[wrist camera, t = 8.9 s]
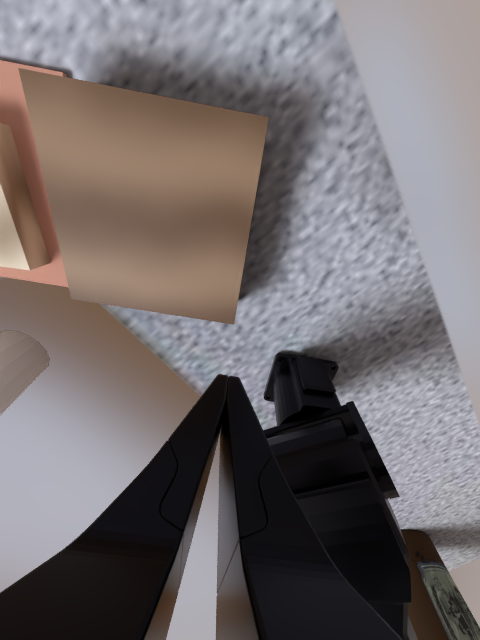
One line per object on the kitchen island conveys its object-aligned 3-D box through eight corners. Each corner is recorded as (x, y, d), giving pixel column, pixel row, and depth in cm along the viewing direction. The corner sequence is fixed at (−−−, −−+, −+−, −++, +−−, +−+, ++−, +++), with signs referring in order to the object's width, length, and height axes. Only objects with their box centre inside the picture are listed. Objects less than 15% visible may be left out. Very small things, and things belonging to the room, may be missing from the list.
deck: (236, 302, 20) (233, 324, 17) (102, 280, 20) (71, 298, 17) (264, 135, 15) (268, 117, 11) (75, 98, 14) (18, 67, 11)
